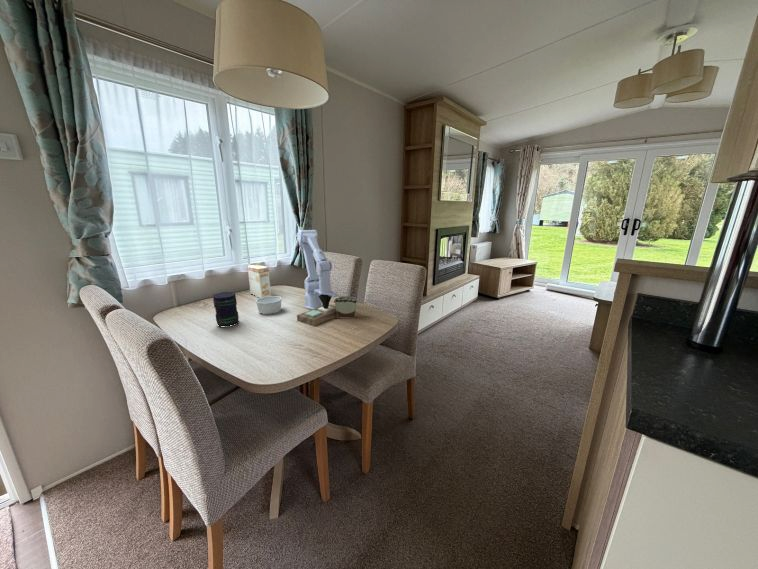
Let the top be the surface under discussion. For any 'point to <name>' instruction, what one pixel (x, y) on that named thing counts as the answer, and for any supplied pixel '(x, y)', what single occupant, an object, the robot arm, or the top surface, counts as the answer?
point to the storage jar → (226, 308)
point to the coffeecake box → (259, 280)
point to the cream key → (326, 309)
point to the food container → (345, 307)
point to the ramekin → (269, 304)
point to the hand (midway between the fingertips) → (326, 308)
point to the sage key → (313, 313)
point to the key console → (317, 317)
